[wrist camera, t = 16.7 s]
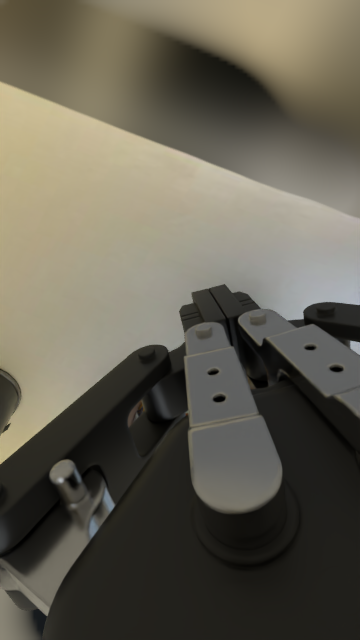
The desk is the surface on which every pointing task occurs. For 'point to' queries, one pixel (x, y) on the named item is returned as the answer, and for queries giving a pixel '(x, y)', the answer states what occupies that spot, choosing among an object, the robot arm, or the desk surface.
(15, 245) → the desk surface
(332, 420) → the robot arm
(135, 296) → the desk surface
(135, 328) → the desk surface
